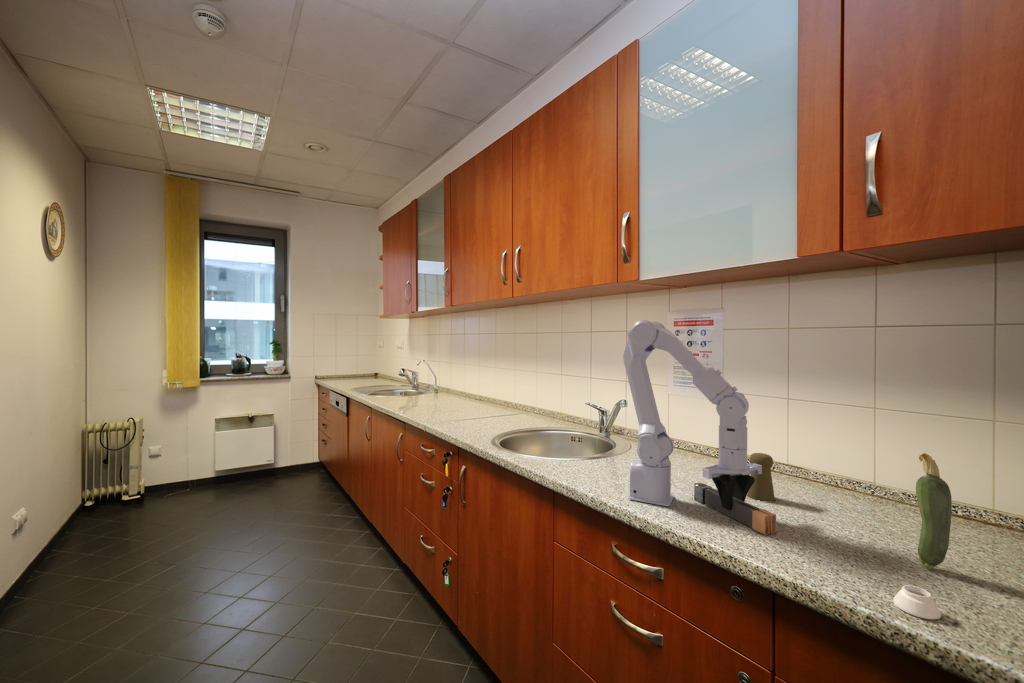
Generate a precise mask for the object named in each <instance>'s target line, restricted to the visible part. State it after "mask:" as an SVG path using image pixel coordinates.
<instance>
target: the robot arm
mask: <svg viewBox="0 0 1024 683" xmlns="http://www.w3.org/2000/svg"><path fill="white" fill-rule="evenodd" d="M626 334H627V341H626V344H625V347H624V350H623V351H624V352H623V356H622V359H623V363H624V364H623V365H624V367H625V372H626V376H627V381H628V384H629V389H630V392H631V397H632V400H633V404H634V405H633V406H634V409H635V413H636V418H637V422H638V430H637V434H636V435H637V436H636V437H637V441H638V443H637V449H636V453H637V456H638V458H639V460H636V459H635V460H632V462H631V464H630V469H629V496H628V499H629V500H630V501H636V502H641V503H648V504H653V505H657V506H662V507H663V506H664V507H670V506H671V504H672V503H673V500H674V498H675V495H674V494H672V493H671V492H672V491H671V487H672V486H671V483H672V478H671V477H672V462H671V460H670V456H671V454H672V453H673V451H674V443H673V440H672V439H671V437H670V436H669V435H668V433H667V430H666V427H665V425H664V424H663V422H661V418H660V415H659V411H658V410H659V409H658V406H657V402H656V398H655V394H654V390H653V386H652V382H651V379H650V374H649V370H648V366H647V362H646V360H647V359H648V357H649V356H650V355H651V354H652V352H653V351H654V350H655V349H657V350H661V351H665V352H668V353H669V355H671V356H672V357H673V358H674V360H676V361H677V362H678V363H679V364H680V365H681V366H682V367H684V368H685V370H686V371H688V373H690V375H692V384H693V385H694V387H696V388H697V390H698V391H699V392H701V394H702V395H704V397H706V399H707V400H709V402H710V403H711V404H713V405H715V409H716V413H717V414H718V415H719V425H718V463H717V464H714V465H710V466H706V467H702V477H704V478H706V479H707V480H710V479H711V480H712V481H713V483H714V485H715V489H716V490H718V493H719V496H720V499H721V503H722V507H723V508H725V509H727V510H731V509H732V503H733V497H735V498H737V499H739V500H742V501H744V502H746V499H747V497H748V496H747V493H748V491H749V489H750V488H751V486H752V485H753V483H754V482H755V478H754V477H751V476H750V475H751V474H755V473H756V474H762V465H758V464H755V463H752V464H750V463H748V426H747V424H748V420H747V415H746V414H747V413H748V412H749V408H750V403H749V401H748V399H747V398H746V396H745V394H743V393H742V392H738V388H737V387H736V386H732V385H731V384H730V383H729V382H728V381H727V380H726V379H725V378H724V377H723V376H722V374H723V373H722V371H721V370H720V369H719V368H716V369H715V368H714V367H713V366H704V365H703V364H702V363H701V362H700V361H699V360H698V359H697V357H695V355H694V354H693V353H692V352H691V351H690V350H689V349H688V348H687V347H686V346H685V345H684V343H683V342H682V341H681V340H680V339H679V338H678V337H677V336H676V335H675V333H673V332H672V331H671V330H670V329H668V328H666V327H665V326H664V324H662V322H659V321H649V320H647V319H641V320H638V321H636V322H634V324H633V325H632V326H631V328H630V329H629V330H628V331H627V333H626Z"/></svg>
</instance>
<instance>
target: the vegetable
mask: <svg viewBox="0 0 1024 683" xmlns="http://www.w3.org/2000/svg"><path fill="white" fill-rule="evenodd" d="M918 459H919V462H922V468H923V471H924V473H925V475H923V476H920V477H919V478H918V479H917V481H916V484H915V495H916V500H917V501H916V502H917V505H918V509H919V512H920V515H921V529H920V535H919V540H918V548H917V555H918V560H919V562H920V563H921V564H922V565H923V566H924V567H925V568H926V569H928V570H932V569H934V568H935V567H937V566H939V565H941V564H942V563H943V562H944V561H945V558H946V555H947V553H948V549H949V546H950V536H951V535H950V534H951V526H952V524H951V523H952V512H953V511H952V507H953V506H952V493H951V489H950V486H949V485H948V483H947V482H946V481H945V480H944V479H943V478H941V475H940V469H939V466H938V464H937V463H936V460H935V459H933V457H932V456H931V455H929V454H928V453H925V452H923V453H921V454H919V456H918Z"/></svg>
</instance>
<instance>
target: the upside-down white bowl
mask: <svg viewBox="0 0 1024 683" xmlns="http://www.w3.org/2000/svg"><path fill="white" fill-rule="evenodd" d="M892 600H893V603H894V604H893V605H895V606H896V607H897V608H899V609H900V610H902V611H903V612H905V613H907V614H909V615H911V616H914V617H917V618H920V619H924V620H939V619H941V617H942V613H941V611H940V609H939V607H938V605H937V603H936V601H935V599H933V597H932V594H931V593H930V592H929V591H928V590H926V589H923V588H921V587H918V586H915V585H909V584H908V585H907V584H906V585H903V586H902V588H901V589H900V590H898V592H897V593H896V594H895V596H894V597H893V599H892Z"/></svg>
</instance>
